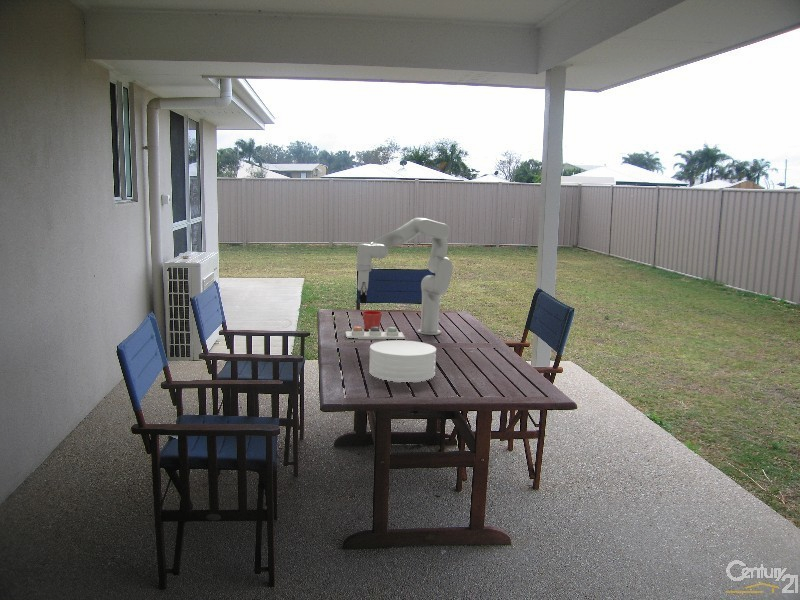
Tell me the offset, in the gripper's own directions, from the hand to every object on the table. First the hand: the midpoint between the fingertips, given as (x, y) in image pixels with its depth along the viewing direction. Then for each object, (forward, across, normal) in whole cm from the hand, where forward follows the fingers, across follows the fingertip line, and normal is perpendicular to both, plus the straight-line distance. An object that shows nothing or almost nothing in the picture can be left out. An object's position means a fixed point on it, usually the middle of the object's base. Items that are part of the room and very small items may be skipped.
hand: (362, 300), depth 361 cm
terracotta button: (+16, -2, -2) cm, 17 cm away
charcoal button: (+16, -2, +7) cm, 18 cm away
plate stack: (+20, +70, +14) cm, 74 cm away
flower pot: (+19, -21, +7) cm, 30 cm away
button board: (+19, -2, +7) cm, 21 cm away
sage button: (+16, -2, +16) cm, 23 cm away
